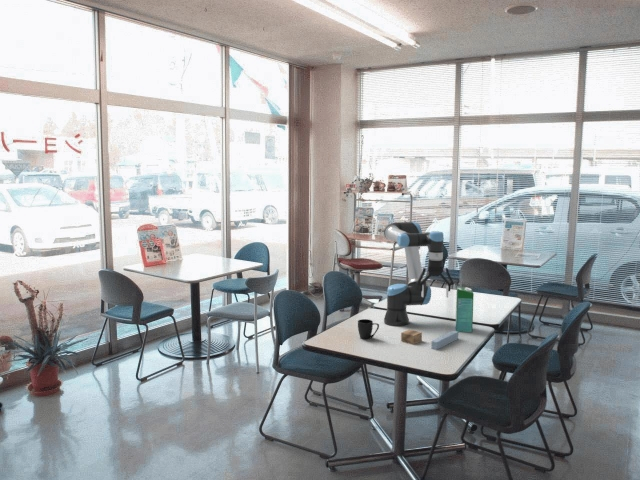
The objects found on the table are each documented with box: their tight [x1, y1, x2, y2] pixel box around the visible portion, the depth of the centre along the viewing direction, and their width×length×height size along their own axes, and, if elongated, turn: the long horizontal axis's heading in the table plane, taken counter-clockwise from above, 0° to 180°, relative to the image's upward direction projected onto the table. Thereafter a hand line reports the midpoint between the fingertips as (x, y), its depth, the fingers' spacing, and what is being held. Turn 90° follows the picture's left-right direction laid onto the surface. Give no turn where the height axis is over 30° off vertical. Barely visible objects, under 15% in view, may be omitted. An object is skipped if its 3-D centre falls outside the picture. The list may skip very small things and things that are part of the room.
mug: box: [357, 318, 380, 340], centre depth 300 cm, size 8×12×10 cm
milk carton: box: [455, 285, 475, 333], centre depth 314 cm, size 9×9×25 cm
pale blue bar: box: [430, 330, 459, 351], centre depth 290 cm, size 3×24×4 cm, turn 139°
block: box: [400, 329, 423, 345], centre depth 294 cm, size 8×8×5 cm
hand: (434, 296), depth 302 cm, fingers open, 13 cm apart
